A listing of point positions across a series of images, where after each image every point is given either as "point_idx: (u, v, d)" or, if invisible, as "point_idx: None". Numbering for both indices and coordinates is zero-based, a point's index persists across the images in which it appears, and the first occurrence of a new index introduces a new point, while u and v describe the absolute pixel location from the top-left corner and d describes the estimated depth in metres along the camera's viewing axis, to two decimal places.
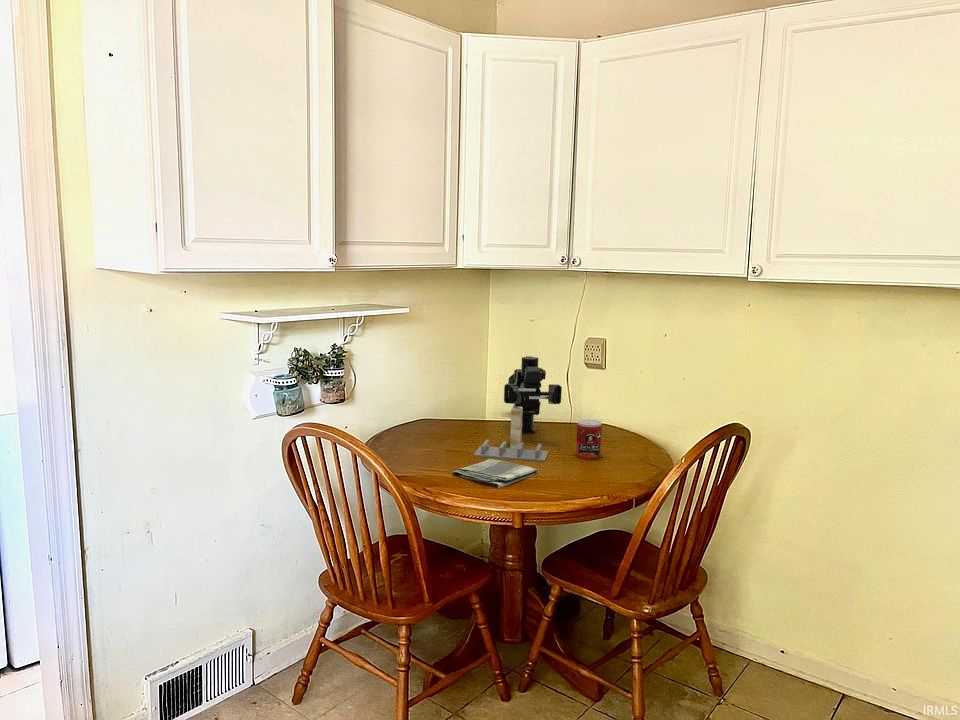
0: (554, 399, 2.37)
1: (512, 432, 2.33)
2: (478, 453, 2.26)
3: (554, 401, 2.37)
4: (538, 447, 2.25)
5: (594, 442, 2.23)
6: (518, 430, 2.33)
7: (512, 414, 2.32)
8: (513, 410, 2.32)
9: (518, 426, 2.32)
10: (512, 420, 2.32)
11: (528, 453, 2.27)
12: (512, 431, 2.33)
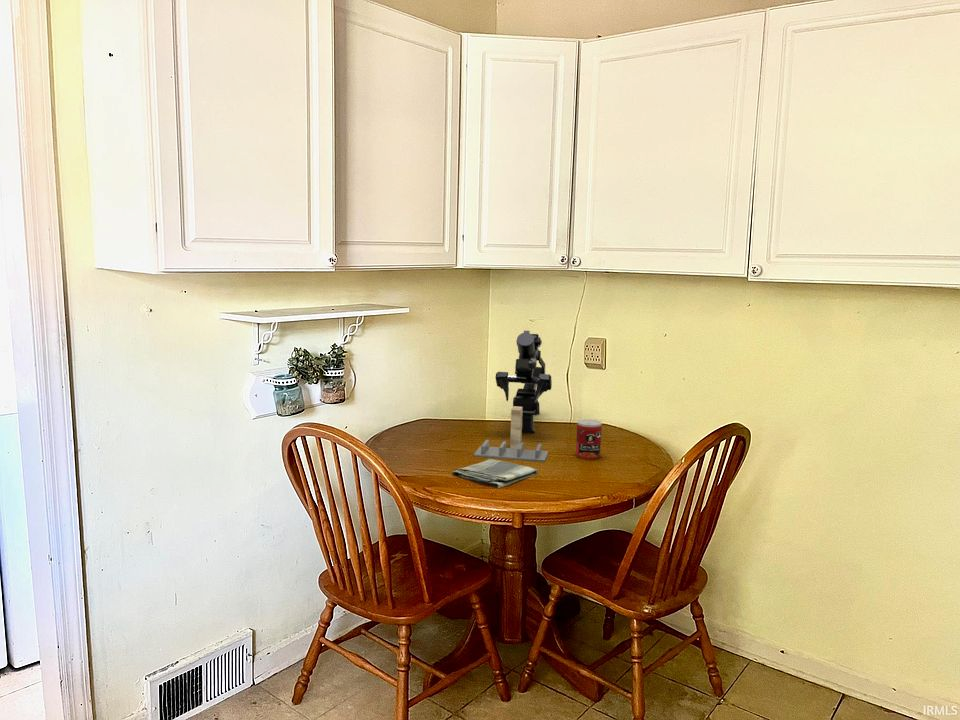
0: (543, 389, 2.44)
1: (512, 432, 2.33)
2: (478, 453, 2.26)
3: (544, 390, 2.45)
4: (538, 447, 2.25)
5: (594, 442, 2.23)
6: (518, 430, 2.33)
7: (512, 414, 2.32)
8: (513, 410, 2.32)
9: (518, 426, 2.32)
10: (512, 420, 2.32)
11: (528, 453, 2.27)
12: (512, 431, 2.33)
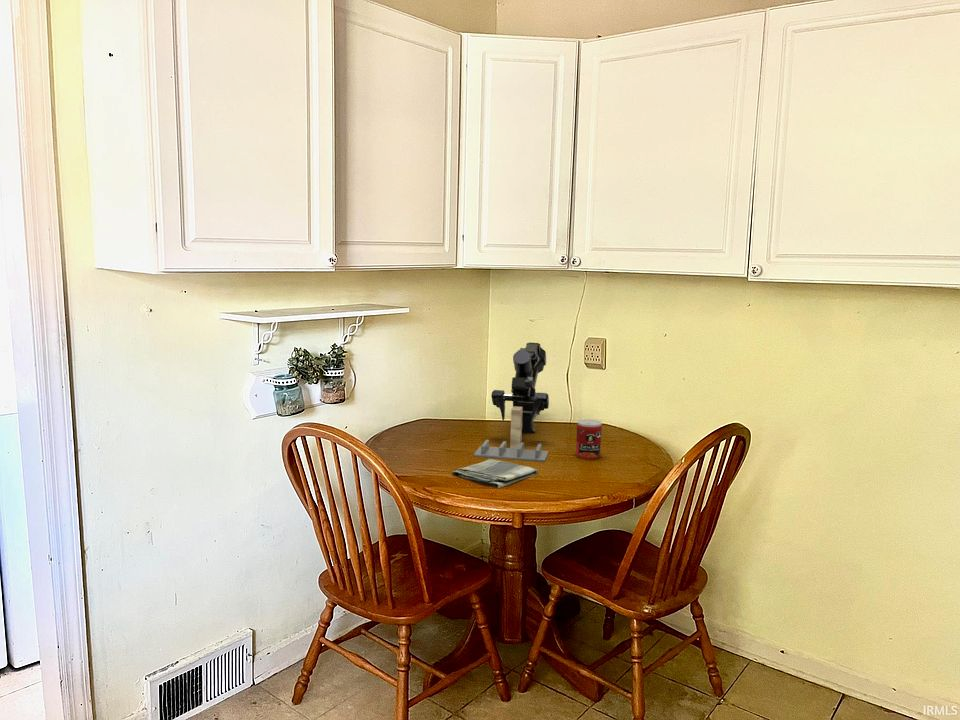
0: (540, 407, 2.39)
1: (512, 432, 2.33)
2: (478, 453, 2.26)
3: (541, 409, 2.39)
4: (538, 447, 2.25)
5: (594, 442, 2.23)
6: (518, 430, 2.33)
7: (512, 414, 2.32)
8: (513, 410, 2.32)
9: (518, 426, 2.32)
10: (512, 420, 2.32)
11: (528, 453, 2.27)
12: (512, 431, 2.33)
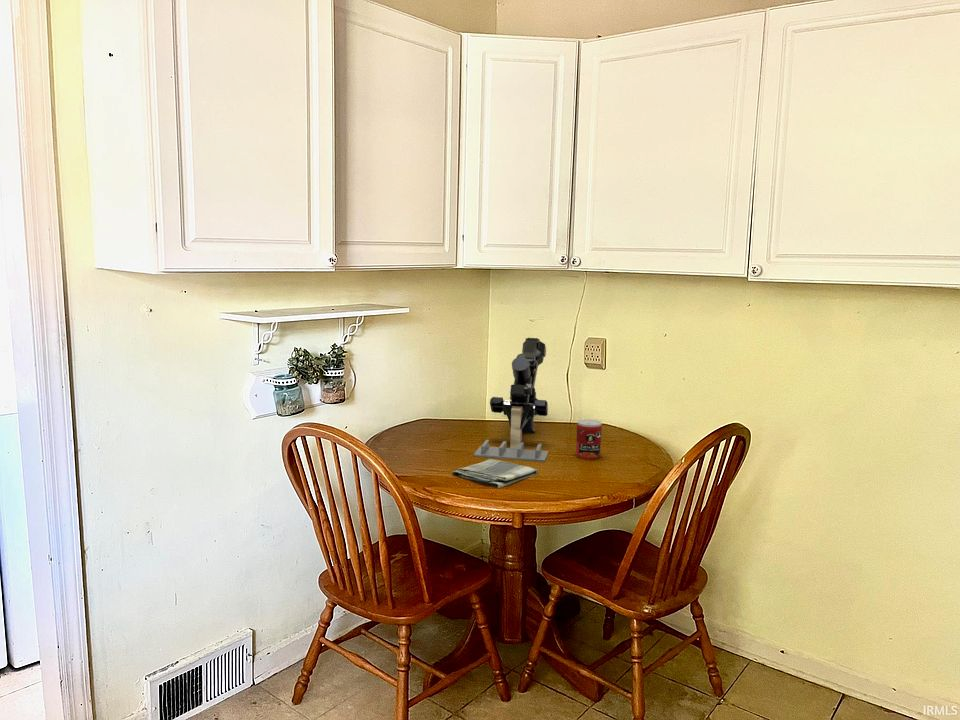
0: (530, 414, 2.37)
1: (512, 432, 2.33)
2: (478, 453, 2.26)
3: (531, 415, 2.38)
4: (538, 447, 2.25)
5: (594, 442, 2.23)
6: (518, 430, 2.33)
7: (512, 414, 2.32)
8: (513, 410, 2.32)
9: (518, 426, 2.32)
10: (512, 420, 2.32)
11: (528, 453, 2.27)
12: (512, 431, 2.33)
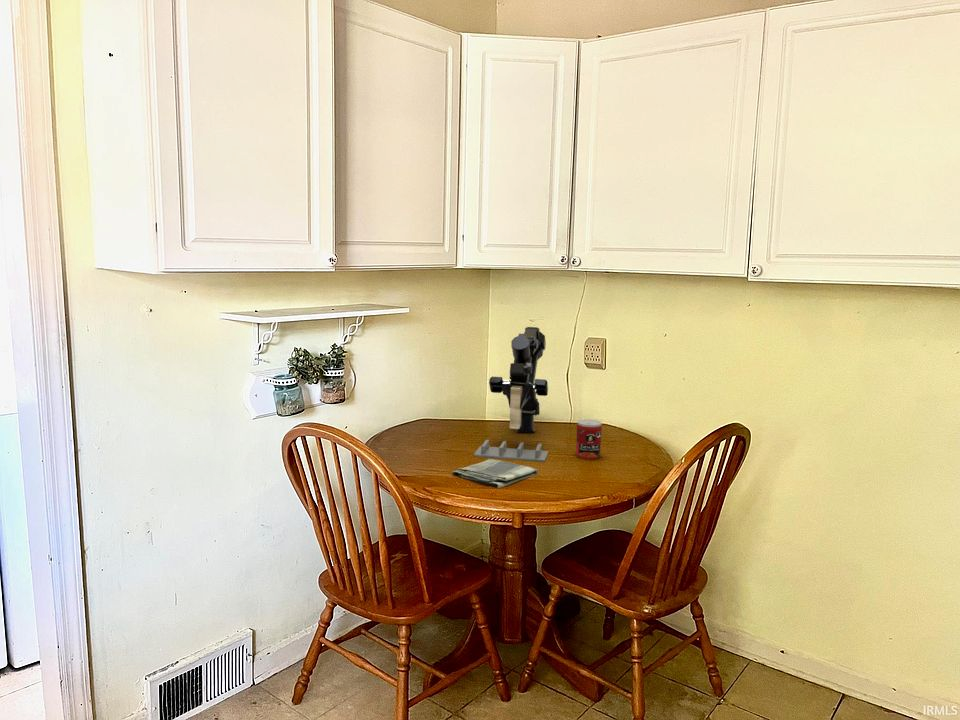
0: (530, 394, 2.34)
1: (512, 411, 2.29)
2: (478, 453, 2.26)
3: (530, 395, 2.34)
4: (538, 447, 2.25)
5: (594, 442, 2.23)
6: (518, 409, 2.29)
7: (512, 393, 2.29)
8: (513, 389, 2.28)
9: (518, 405, 2.29)
10: (511, 399, 2.29)
11: (528, 453, 2.27)
12: (512, 410, 2.29)
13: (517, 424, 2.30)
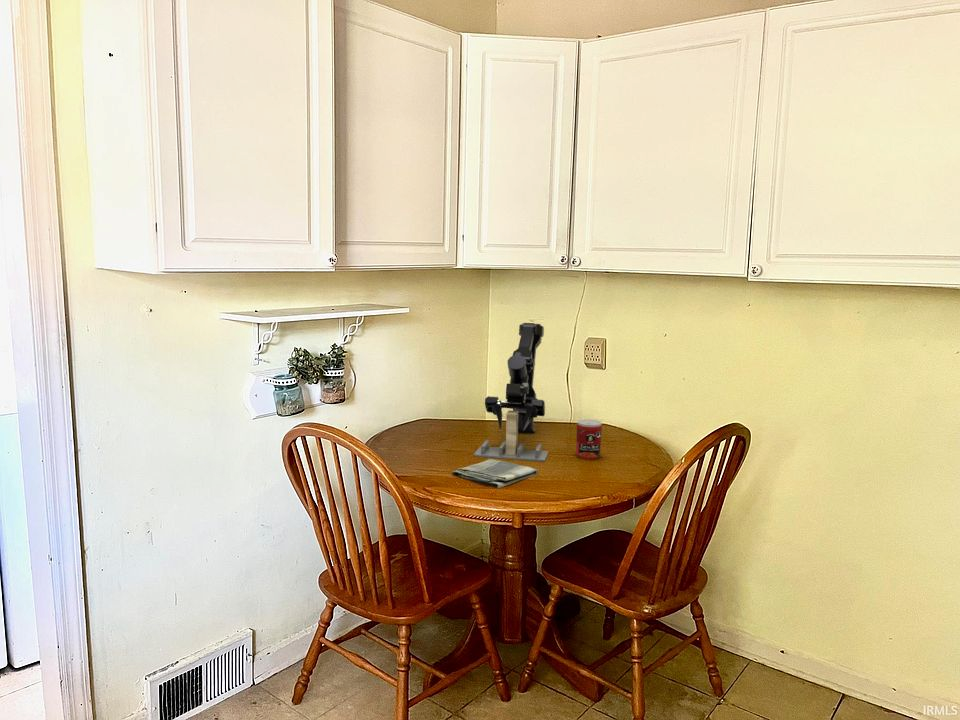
0: (533, 415, 2.28)
1: (507, 437, 2.24)
2: (478, 453, 2.26)
3: (533, 416, 2.29)
4: (538, 447, 2.25)
5: (594, 442, 2.23)
6: (514, 435, 2.24)
7: (507, 418, 2.23)
8: (508, 414, 2.23)
9: (514, 431, 2.23)
10: (507, 425, 2.24)
11: (528, 453, 2.27)
12: (507, 436, 2.24)
13: (513, 450, 2.24)
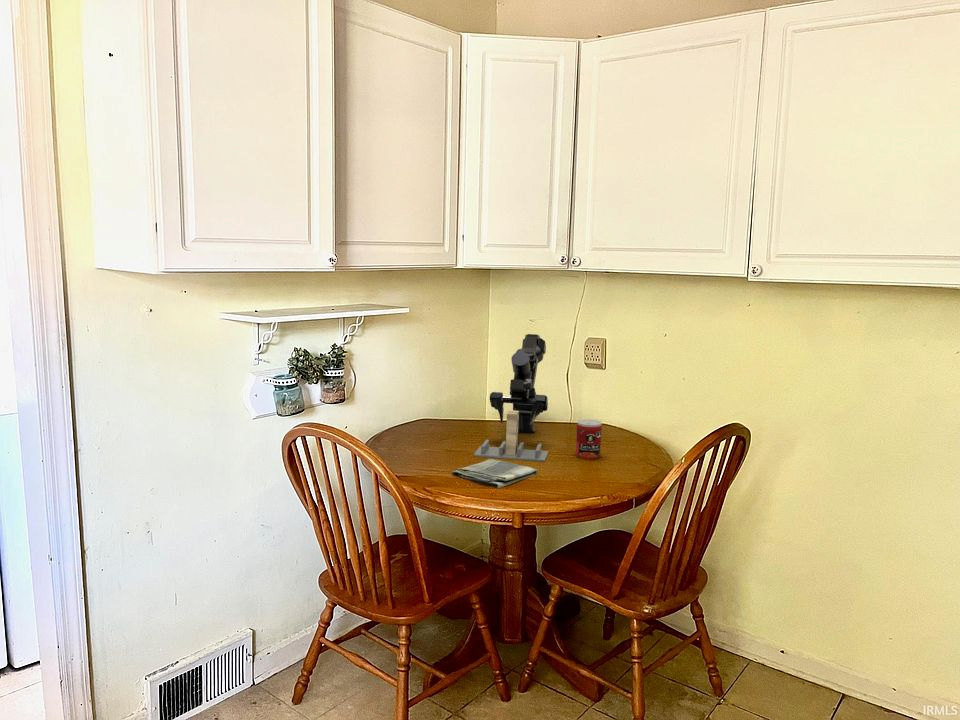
0: (539, 410, 2.36)
1: (508, 437, 2.24)
2: (478, 453, 2.26)
3: (539, 411, 2.36)
4: (538, 447, 2.25)
5: (594, 442, 2.23)
6: (514, 435, 2.24)
7: (508, 418, 2.23)
8: (509, 414, 2.23)
9: (514, 431, 2.23)
10: (507, 425, 2.24)
11: (528, 453, 2.27)
12: (508, 436, 2.24)
13: (513, 450, 2.24)
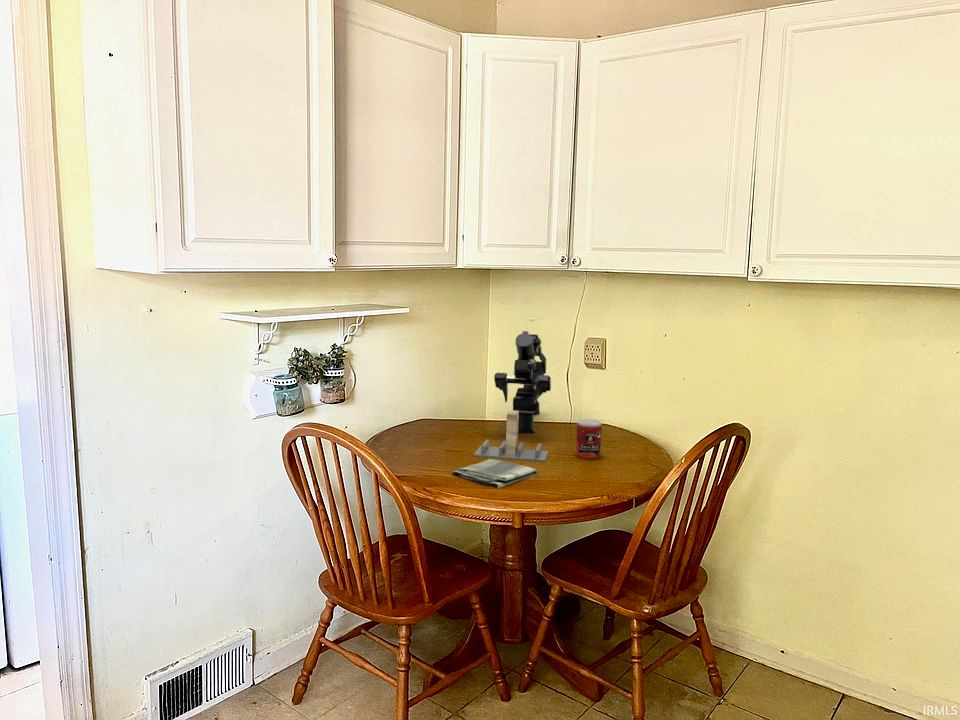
0: (543, 390, 2.43)
1: (508, 437, 2.24)
2: (478, 453, 2.26)
3: (543, 391, 2.43)
4: (538, 447, 2.25)
5: (594, 442, 2.23)
6: (514, 435, 2.24)
7: (508, 418, 2.23)
8: (509, 414, 2.23)
9: (514, 431, 2.23)
10: (507, 425, 2.24)
11: (528, 453, 2.27)
12: (508, 436, 2.24)
13: (513, 450, 2.24)
